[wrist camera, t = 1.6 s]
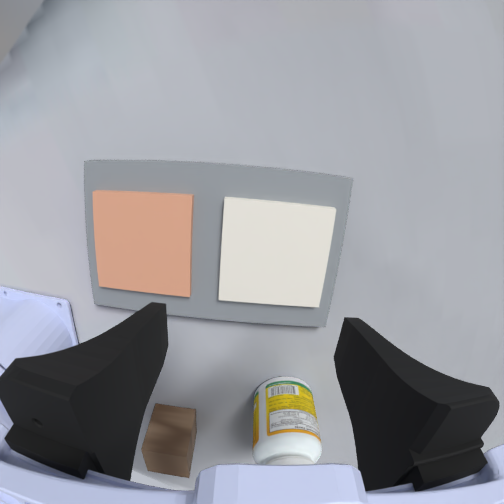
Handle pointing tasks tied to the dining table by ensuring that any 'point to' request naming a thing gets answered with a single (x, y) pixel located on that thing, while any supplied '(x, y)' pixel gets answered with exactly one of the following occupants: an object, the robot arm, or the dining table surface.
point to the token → (170, 440)
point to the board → (215, 239)
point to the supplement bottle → (285, 423)
